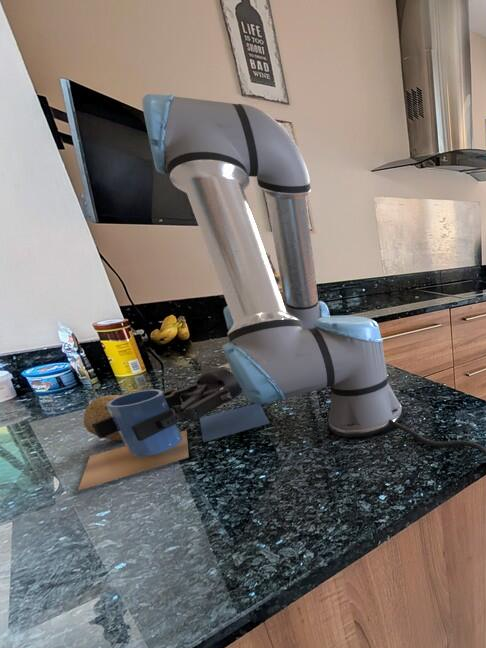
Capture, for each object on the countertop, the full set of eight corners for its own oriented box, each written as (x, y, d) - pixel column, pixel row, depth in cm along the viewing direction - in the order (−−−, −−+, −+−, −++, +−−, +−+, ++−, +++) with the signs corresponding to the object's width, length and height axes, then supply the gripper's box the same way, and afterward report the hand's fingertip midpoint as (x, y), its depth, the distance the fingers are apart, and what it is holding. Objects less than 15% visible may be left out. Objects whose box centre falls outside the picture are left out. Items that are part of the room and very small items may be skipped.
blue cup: (182, 446, 73) (162, 398, 70) (128, 461, 69) (103, 411, 65) (181, 431, 79) (163, 386, 75) (131, 445, 75) (109, 397, 71)
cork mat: (189, 458, 75) (188, 457, 74) (78, 492, 66) (77, 490, 66) (187, 431, 85) (186, 429, 85) (90, 457, 76) (89, 455, 76)
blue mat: (270, 424, 86) (269, 423, 86) (203, 443, 80) (203, 442, 79) (259, 404, 97) (259, 402, 96) (200, 419, 90) (199, 418, 90)
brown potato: (81, 452, 78) (57, 407, 74) (119, 430, 86) (98, 388, 82) (129, 449, 79) (107, 404, 75) (162, 427, 87) (144, 386, 83)
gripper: (271, 399, 88) (174, 454, 67) (194, 395, 91) (79, 447, 71) (261, 367, 85) (157, 415, 64) (182, 365, 88) (59, 410, 68)
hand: (116, 432), depth 67 cm, fingers closed on blue cup, 8 cm apart
